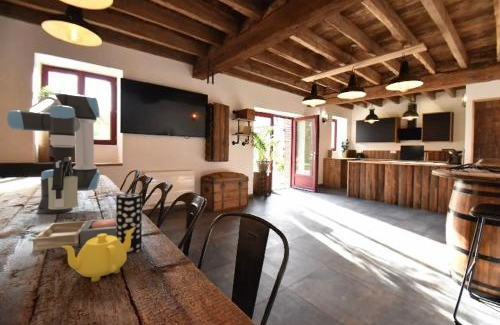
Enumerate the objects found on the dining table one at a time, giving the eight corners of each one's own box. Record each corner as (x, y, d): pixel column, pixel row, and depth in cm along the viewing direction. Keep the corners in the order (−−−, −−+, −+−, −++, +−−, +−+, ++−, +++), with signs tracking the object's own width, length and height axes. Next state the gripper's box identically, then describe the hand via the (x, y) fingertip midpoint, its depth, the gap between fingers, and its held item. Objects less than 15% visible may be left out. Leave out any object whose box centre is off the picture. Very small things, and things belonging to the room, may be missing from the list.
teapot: (72, 300, 57) (72, 254, 57) (52, 278, 66) (52, 238, 65) (149, 268, 74) (149, 232, 73) (125, 254, 82) (125, 222, 82)
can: (61, 210, 87) (61, 178, 87) (41, 208, 89) (41, 176, 88) (83, 204, 96) (83, 175, 96) (65, 203, 98) (64, 174, 97)
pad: (93, 226, 100) (93, 220, 100) (118, 224, 104) (118, 218, 104) (89, 233, 92) (89, 227, 92) (115, 231, 96) (115, 225, 96)
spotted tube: (146, 247, 89) (147, 194, 87) (128, 256, 81) (129, 198, 80) (129, 243, 91) (129, 192, 90) (110, 252, 83) (110, 196, 82)
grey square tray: (88, 231, 102) (88, 220, 101) (124, 228, 108) (124, 217, 107) (80, 244, 89) (80, 231, 89) (122, 239, 95) (122, 227, 95)
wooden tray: (51, 232, 99) (51, 223, 99) (88, 229, 104) (88, 220, 104) (33, 250, 83) (32, 239, 82) (78, 245, 88) (77, 234, 88)
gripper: (59, 146, 100) (60, 199, 101) (39, 146, 80) (40, 211, 81) (81, 146, 103) (81, 198, 104) (66, 147, 83) (67, 210, 84)
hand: (63, 204), depth 93 cm, fingers closed on can, 9 cm apart
